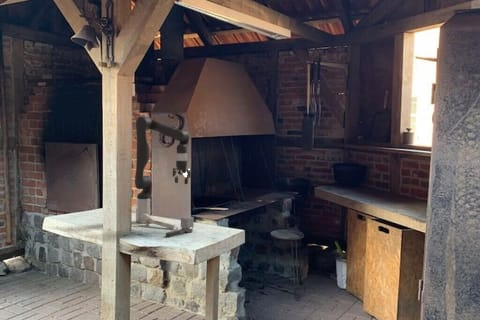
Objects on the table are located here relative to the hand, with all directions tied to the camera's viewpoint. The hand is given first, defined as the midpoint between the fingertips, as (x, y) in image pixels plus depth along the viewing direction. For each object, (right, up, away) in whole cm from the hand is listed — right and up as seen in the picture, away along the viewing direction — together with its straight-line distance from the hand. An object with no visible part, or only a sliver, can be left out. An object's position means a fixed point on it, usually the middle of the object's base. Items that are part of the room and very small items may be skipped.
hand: (181, 183), depth 303 cm
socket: (+5, -28, -12) cm, 31 cm away
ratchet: (+1, -31, -18) cm, 36 cm away
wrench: (-15, -30, -1) cm, 34 cm away
